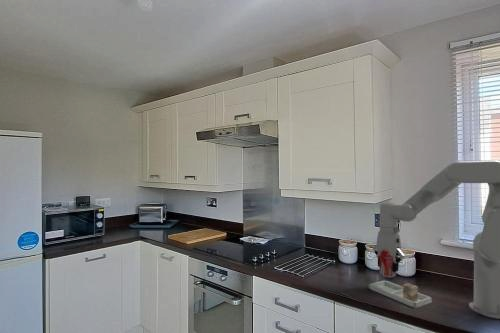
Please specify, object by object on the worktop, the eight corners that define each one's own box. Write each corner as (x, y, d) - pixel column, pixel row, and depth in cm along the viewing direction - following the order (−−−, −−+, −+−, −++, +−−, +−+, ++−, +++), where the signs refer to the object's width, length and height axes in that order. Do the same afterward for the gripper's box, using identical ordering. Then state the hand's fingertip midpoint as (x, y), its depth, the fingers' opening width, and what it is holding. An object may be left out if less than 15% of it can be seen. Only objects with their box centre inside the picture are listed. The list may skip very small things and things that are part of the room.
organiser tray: (431, 303, 127) (431, 297, 127) (415, 309, 121) (415, 303, 121) (385, 285, 146) (385, 280, 146) (368, 289, 140) (368, 284, 140)
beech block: (417, 300, 128) (417, 286, 128) (411, 302, 126) (411, 288, 126) (408, 296, 131) (408, 283, 132) (402, 298, 130) (403, 284, 130)
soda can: (381, 271, 143) (382, 246, 143) (397, 275, 139) (398, 249, 139) (377, 275, 138) (377, 249, 138) (393, 279, 133) (394, 252, 133)
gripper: (411, 233, 133) (410, 273, 133) (377, 226, 148) (377, 262, 148) (400, 234, 129) (399, 276, 129) (367, 227, 144) (366, 264, 144)
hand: (387, 268), depth 138 cm, fingers closed on soda can, 7 cm apart
